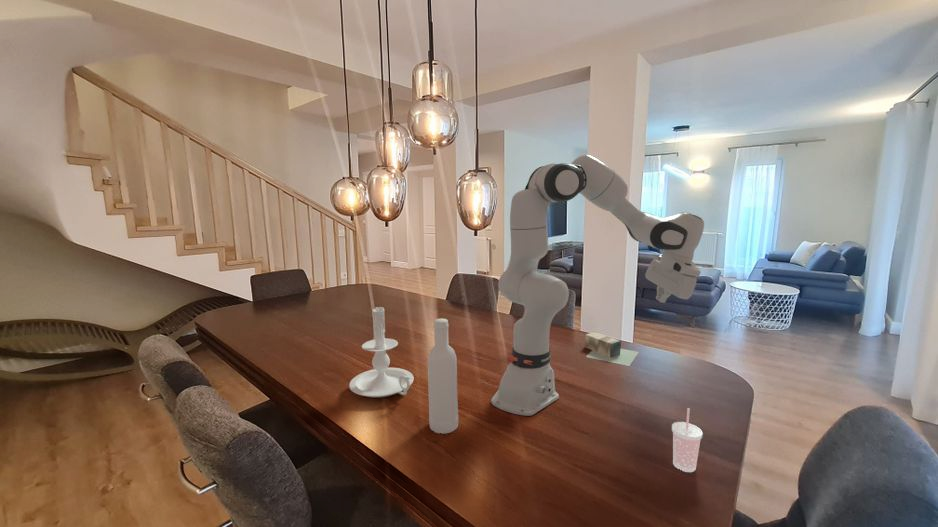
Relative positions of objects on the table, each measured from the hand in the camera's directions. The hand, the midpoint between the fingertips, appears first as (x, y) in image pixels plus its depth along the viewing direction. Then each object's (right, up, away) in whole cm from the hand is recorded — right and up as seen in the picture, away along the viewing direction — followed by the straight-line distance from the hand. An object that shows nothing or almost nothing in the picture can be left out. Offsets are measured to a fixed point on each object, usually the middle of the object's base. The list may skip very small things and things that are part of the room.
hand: (660, 300), depth 130 cm
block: (-7, -21, +20) cm, 30 cm away
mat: (-8, -24, +22) cm, 33 cm away
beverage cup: (-15, -34, -42) cm, 56 cm away
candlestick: (-91, -29, -4) cm, 96 cm away
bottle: (-71, -32, -24) cm, 82 cm away
